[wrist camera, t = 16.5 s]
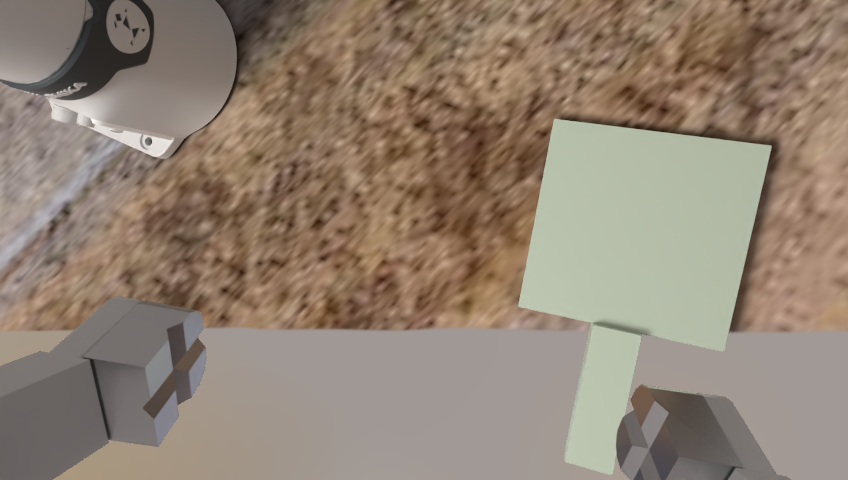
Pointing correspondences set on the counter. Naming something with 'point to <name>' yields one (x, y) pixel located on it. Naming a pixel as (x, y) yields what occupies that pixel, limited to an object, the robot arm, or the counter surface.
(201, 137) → the counter surface
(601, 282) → the lid
